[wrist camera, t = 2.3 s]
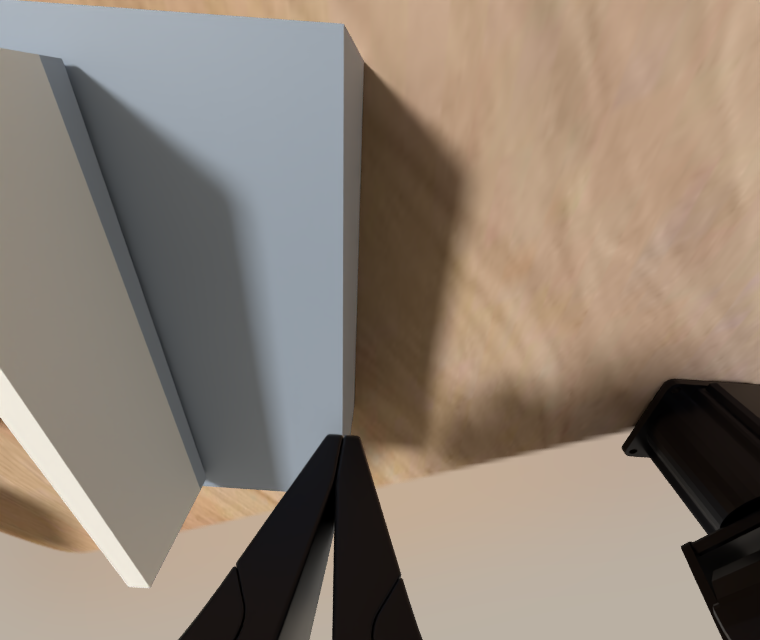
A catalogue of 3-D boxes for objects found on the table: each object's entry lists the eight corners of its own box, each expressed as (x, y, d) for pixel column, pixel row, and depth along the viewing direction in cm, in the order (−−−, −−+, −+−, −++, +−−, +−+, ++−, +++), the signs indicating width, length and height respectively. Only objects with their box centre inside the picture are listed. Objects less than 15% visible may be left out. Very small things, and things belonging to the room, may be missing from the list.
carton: (354, 406, 22) (342, 495, 17) (201, 396, 22) (142, 481, 17) (364, 61, 13) (343, 23, 7) (96, 42, 13) (-110, -9, 7)
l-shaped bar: (206, 477, 16) (150, 588, 12) (137, 473, 16) (60, 582, 12) (61, 58, 8) (-249, 4, 4) (-82, 48, 8) (-529, -15, 4)
